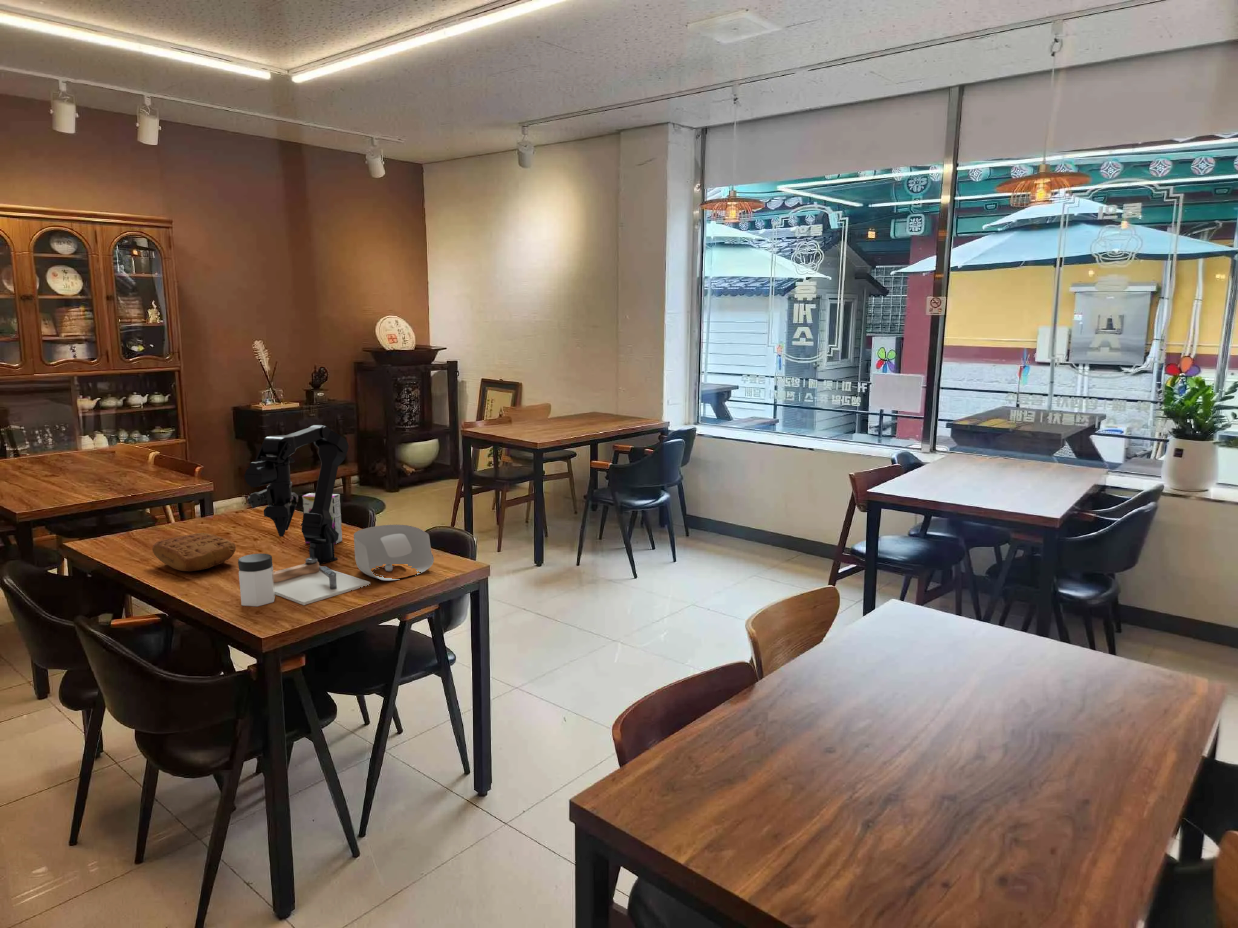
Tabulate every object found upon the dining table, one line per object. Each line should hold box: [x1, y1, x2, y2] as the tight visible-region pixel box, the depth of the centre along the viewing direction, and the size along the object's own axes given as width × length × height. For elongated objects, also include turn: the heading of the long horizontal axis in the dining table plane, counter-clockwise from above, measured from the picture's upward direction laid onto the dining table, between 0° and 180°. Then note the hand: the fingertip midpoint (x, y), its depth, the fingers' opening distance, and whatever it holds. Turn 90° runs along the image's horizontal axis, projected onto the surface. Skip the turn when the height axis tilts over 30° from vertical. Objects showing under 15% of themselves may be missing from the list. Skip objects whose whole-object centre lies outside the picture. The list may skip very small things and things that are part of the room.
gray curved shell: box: [353, 524, 435, 581], centre depth 234 cm, size 20×19×12 cm
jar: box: [237, 553, 276, 607], centre depth 208 cm, size 9×8×12 cm
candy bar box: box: [301, 492, 343, 545], centre depth 264 cm, size 11×5×16 cm, turn 84°
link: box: [273, 562, 320, 583], centre depth 226 cm, size 17×4×2 cm, turn 143°
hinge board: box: [274, 565, 371, 606], centre depth 222 cm, size 21×26×1 cm
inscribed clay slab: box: [152, 532, 236, 572], centre depth 239 cm, size 22×17×8 cm
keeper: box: [305, 557, 337, 590], centre depth 224 cm, size 3×21×4 cm, turn 40°
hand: (283, 533), depth 227 cm, fingers open, 7 cm apart
